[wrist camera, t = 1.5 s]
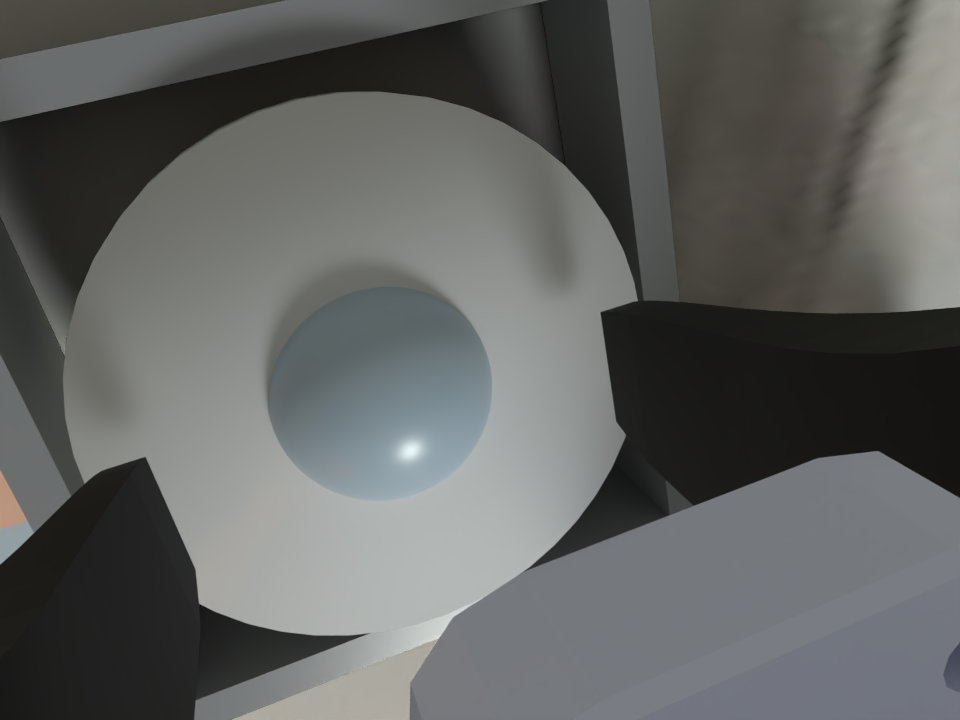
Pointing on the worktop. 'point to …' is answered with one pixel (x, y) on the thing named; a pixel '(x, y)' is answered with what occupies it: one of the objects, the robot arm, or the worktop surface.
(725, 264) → the worktop surface
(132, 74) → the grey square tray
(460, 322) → the dome
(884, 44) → the worktop surface
